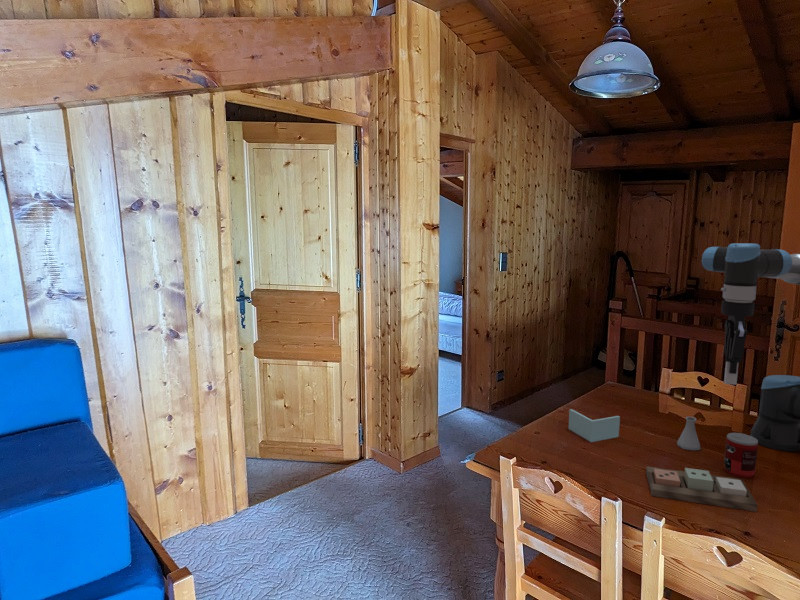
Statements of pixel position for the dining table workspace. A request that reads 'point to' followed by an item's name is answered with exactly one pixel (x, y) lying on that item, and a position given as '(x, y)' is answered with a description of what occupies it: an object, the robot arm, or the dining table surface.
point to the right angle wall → (593, 426)
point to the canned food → (740, 455)
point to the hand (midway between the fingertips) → (730, 383)
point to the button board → (700, 493)
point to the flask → (689, 436)
